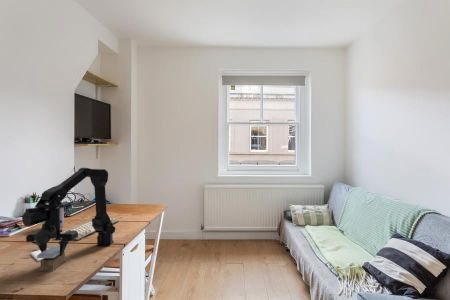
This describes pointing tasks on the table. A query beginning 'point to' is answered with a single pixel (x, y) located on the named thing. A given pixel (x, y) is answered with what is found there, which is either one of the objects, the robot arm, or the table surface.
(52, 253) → the lid
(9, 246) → the table surface
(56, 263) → the box
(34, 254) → the external hard drive
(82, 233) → the mechanical keyboard
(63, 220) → the pillar candle
